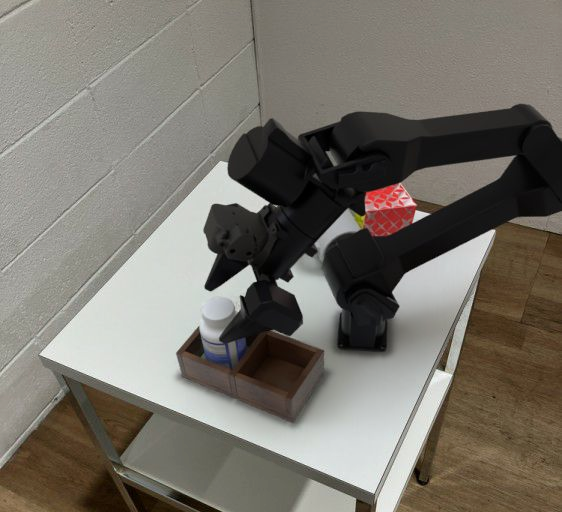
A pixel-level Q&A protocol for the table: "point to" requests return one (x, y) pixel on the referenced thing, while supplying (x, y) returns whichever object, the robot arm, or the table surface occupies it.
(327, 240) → the cup
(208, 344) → the pill bottle
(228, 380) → the divided box
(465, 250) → the table surface
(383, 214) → the red patterned cube
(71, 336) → the table surface
